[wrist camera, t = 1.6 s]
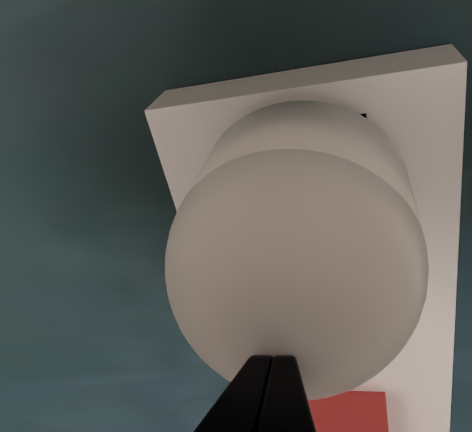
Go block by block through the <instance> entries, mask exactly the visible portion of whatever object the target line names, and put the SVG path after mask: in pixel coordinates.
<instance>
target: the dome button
mask: <svg viewBox="0 0 472 432" xmlns="http://www.w3.org/2000/svg"><path fill="white" fill-rule="evenodd" d="M428 276H429V264H428V253H427V246H426V241H425V238H424V234H423V230H422V226H421V222H420V218H419V214H418V210H417V206H416V202H415V198H414V194H413V191H412V187H411V183H410V179H409V175H408V171H407V167H406V165H405V163H404V160H403V158H402V156H401V154H400V152H399V151H398V149H397V148H396V146H395V144H394V143H393V142H392V141H391V139H390V138H389V137H388V136H387V135H386V134H385V133H384V132H383V131H382V130H381V129H380V128H379V127H377V126H376V125H375V124H374V123H373V122H371V121H370V120H368V119H366V118H365V117H363V116H362V115H360V114H358V113H356V112H354V111H351V110H349V109H347V108H344V107H341V106H338V105H335V104H331V103H325V102H320V101H307V100H297V101H285V102H281V103H276V104H271V105H268V106H266V107H263V108H260V109H257V110H255V111H253V112H251V113H249V114H247V115H245V116H244V117H242V118H241V119H240V120H238V121H237V122H235V123H234V124H233V125H232V126H231V127H229V128H228V129H227V130H226V131H225V132H224V133H223V134H222V136H221V137H220V138H219V139H218V141H217V142H216V144H215V145H214V147H213V149H212V150H211V152H210V154H209V156H208V157H207V159H206V161H205V163H204V164H203V166H202V168H201V170H200V171H199V173H198V175H197V177H196V178H195V180H194V182H193V184H192V185H191V187H190V189H189V191H188V192H187V194H186V196H185V198H184V199H183V201H182V203H181V205H180V207H179V208H178V211H177V213H176V215H175V218H174V220H173V223H172V226H171V228H170V232H169V237H168V242H167V247H166V252H165V281H166V288H167V293H168V298H169V302H170V306H171V309H172V312H173V314H174V317H175V319H176V321H177V323H178V325H179V328H180V330H181V332H182V333H183V335H184V337H185V338H186V340H187V341H188V343H189V344H190V345H191V347H192V348H193V350H194V351H195V352H196V353H197V354H198V356H199V357H200V358H201V359H202V360H203V361H204V362H205V363H206V364H207V365H208V366H209V367H211V368H212V369H213V370H214V371H216V372H217V373H218V374H220V375H221V376H222V377H223V378H225V379H226V380H228V381H230V382H231V381H232V380H233V378H234V377H235V376H236V374H237V373H238V372H239V370H240V369H241V368H242V366H243V365H244V364H245V362H246V361H247V360H248V358H249V357H250V356H252V355H271V356H272V357H273V358H274V356H276V355H293V356H295V357H296V359H297V362H298V366H299V370H300V373H301V377H302V381H303V384H304V388H305V392H306V395H307V399H308V400H317V399H323V398H328V397H331V396H334V395H338V394H341V393H344V392H347V391H349V390H352V389H354V388H356V387H358V386H360V385H362V384H364V383H365V382H367V381H368V380H370V379H371V378H373V377H374V376H376V375H377V374H378V373H380V372H381V371H383V370H384V369H385V368H386V367H387V366H388V365H389V364H390V363H391V362H392V361H393V360H394V359H395V358H396V356H397V355H398V354H399V353H400V352H401V351H402V349H403V348H404V347H405V345H406V344H407V342H408V341H409V339H410V337H411V336H412V334H413V332H414V330H415V328H416V326H417V324H418V322H419V320H420V316H421V313H422V310H423V307H424V303H425V300H426V296H427V287H428Z"/></svg>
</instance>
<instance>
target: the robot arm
mask: <svg viewBox="0 0 472 432" xmlns="http://www.w3.org/2000/svg"><path fill="white" fill-rule="evenodd" d="M194 432H316V428H315V425H314V421H313V417H312V414H311V410H310V406H309V403H308V399H307V395H306V392H305V388H304V384H303V381H302V377H301V373H300V370H299V366H298V362H297V359H296V357H295V356H293V355H276V356H274V358H273V357H272V356H271V355H252V356H250V357H249V358H248V360H247V361H246V362H245V364H244V365H243V366H242V368H241V369H240V370H239V372H238V373H237V374H236V376H235V377H234V378H233V380H232V381H231V382H230V384H229V385H228V386H227V388H226V389H225V390H224V392H223V393H222V394H221V396H220V397H219V398H218V400H217V401H216V402H215V404H214V405H213V406H212V408H211V409H210V410H209V412H208V413H207V414H206V416H205V417H204V419H203V420H202V421H201V423H200V424H199V425H198V427H197V428H196V429H195V431H194Z"/></svg>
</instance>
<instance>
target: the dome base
mask: <svg viewBox="0 0 472 432" xmlns="http://www.w3.org/2000/svg"><path fill="white" fill-rule="evenodd" d="M466 78H467V61H466V60H465V58H464V57H463V56H462V55H461V54H460V53H459V52H458V50H457V49H456V48H455V47H454V46H453V45H452V44H447V45H441V46H435V47H428V48H422V49H416V50H410V51H404V52H398V53H392V54H386V55H379V56H373V57H367V58H361V59H355V60H349V61H343V62H337V63H330V64H324V65H318V66H312V67H306V68H300V69H294V70H288V71H281V72H275V73H269V74H263V75H257V76H251V77H245V78H239V79H232V80H226V81H220V82H214V83H208V84H202V85H196V86H190V87H183V88H177V89H171V90H165V91H164V92H163V93H162V94H161V95H160V96H159V97H158V98H157V99H156V100H155V101H154V102H153V103H152V104H151V105H150V106H149V107H148V108H147V109H145V110H144V112H145V115H146V118H147V121H148V124H149V127H150V130H151V133H152V137H153V140H154V143H155V146H156V149H157V152H158V155H159V158H160V161H161V164H162V167H163V171H164V174H165V177H166V180H167V183H168V186H169V189H170V192H171V195H172V198H173V201H174V204H175V208H176V211H178V208H179V207H180V205H181V203H182V201H183V199H184V198H185V196H186V194H187V192H188V191H189V189H190V187H191V185H192V184H193V182H194V180H195V178H196V177H197V175H198V173H199V171H200V170H201V168H202V166H203V164H204V163H205V161H206V159H207V157H208V156H209V154H210V152H211V150H212V149H213V147H214V145H215V144H216V142H217V141H218V139H219V138H220V137H221V136H222V134H223V133H224V132H225V131H226V130H227V129H228V128H229V127H231V126H232V125H233V124H234V123H235V122H237V121H238V120H240V119H241V118H242V117H244V116H245V115H247V114H249V113H251V112H253V111H255V110H257V109H260V108H263V107H266V106H268V105H271V104H276V103H281V102H285V101H297V100H307V101H320V102H325V103H331V104H335V105H338V106H341V107H344V108H347V109H349V110H351V111H354V112H356V113H358V114H363V113H365V114H366V119H368V120H370V121H371V122H373V123H374V124H375V125H376V126H377V127H379V128H380V129H381V130H382V131H383V132H384V133H385V134H386V135H387V136H388V137H389V138H390V139H391V141H392V142H393V143H394V144H395V146H396V148H397V149H398V151H399V152H400V154H401V156H402V158H403V160H404V163H405V165H406V167H407V171H408V175H409V179H410V183H411V187H412V191H413V194H414V198H415V202H416V206H417V210H418V214H419V218H420V222H421V226H422V230H423V234H424V238H425V241H426V246H427V253H428V264H429V276H428V287H427V296H426V300H425V303H424V307H423V310H422V313H421V316H420V320H419V322H418V324H417V326H416V328H415V330H414V332H413V334H412V336H411V337H410V339H409V341H408V342H407V344H406V345H405V347H404V348H403V349H402V351H401V352H400V353H399V354H398V355H397V356H396V358H395V359H394V360H393V361H392V362H391V363H390V364H389V365H388V366H387V367H386V368H385V369H384V370H383V371H381V372H380V373H378V374H377V375H376V376H374V377H373V378H371V379H370V380H368V381H367V382H365V383H364V384H362V385H360V386H358V387H356V388H354V389H352V390H349V391H347V392H344V393H341V394H338V395H334V396H331V397H328V398H323V399H317V400H308V403H309V406H310V410H311V414H312V417H313V421H314V425H315V428H316V432H450V414H451V393H452V372H453V351H454V330H455V309H456V288H457V267H458V246H459V225H460V204H461V183H462V162H463V141H464V120H465V99H466Z"/></svg>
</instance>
